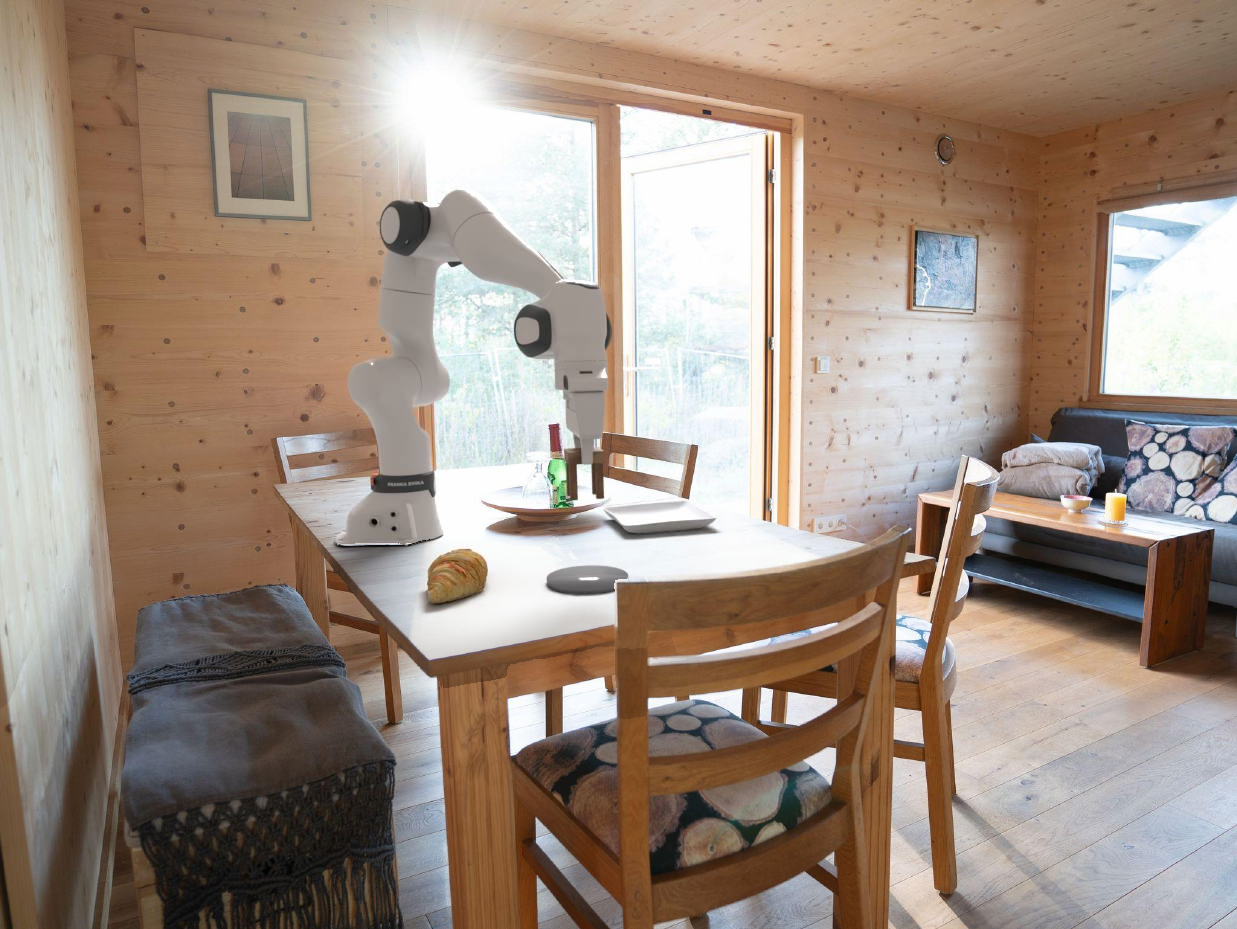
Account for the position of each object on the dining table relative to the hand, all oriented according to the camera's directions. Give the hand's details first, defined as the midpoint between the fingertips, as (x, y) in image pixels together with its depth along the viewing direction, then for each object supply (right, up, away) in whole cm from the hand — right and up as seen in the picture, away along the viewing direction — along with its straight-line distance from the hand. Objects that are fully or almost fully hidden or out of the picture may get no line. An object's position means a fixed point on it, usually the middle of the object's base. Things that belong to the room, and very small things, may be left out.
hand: (583, 461), depth 136 cm
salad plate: (+15, -15, +48) cm, 52 cm away
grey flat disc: (0, -21, +3) cm, 21 cm away
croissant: (-22, -22, +1) cm, 31 cm away
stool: (0, -6, +1) cm, 6 cm away
